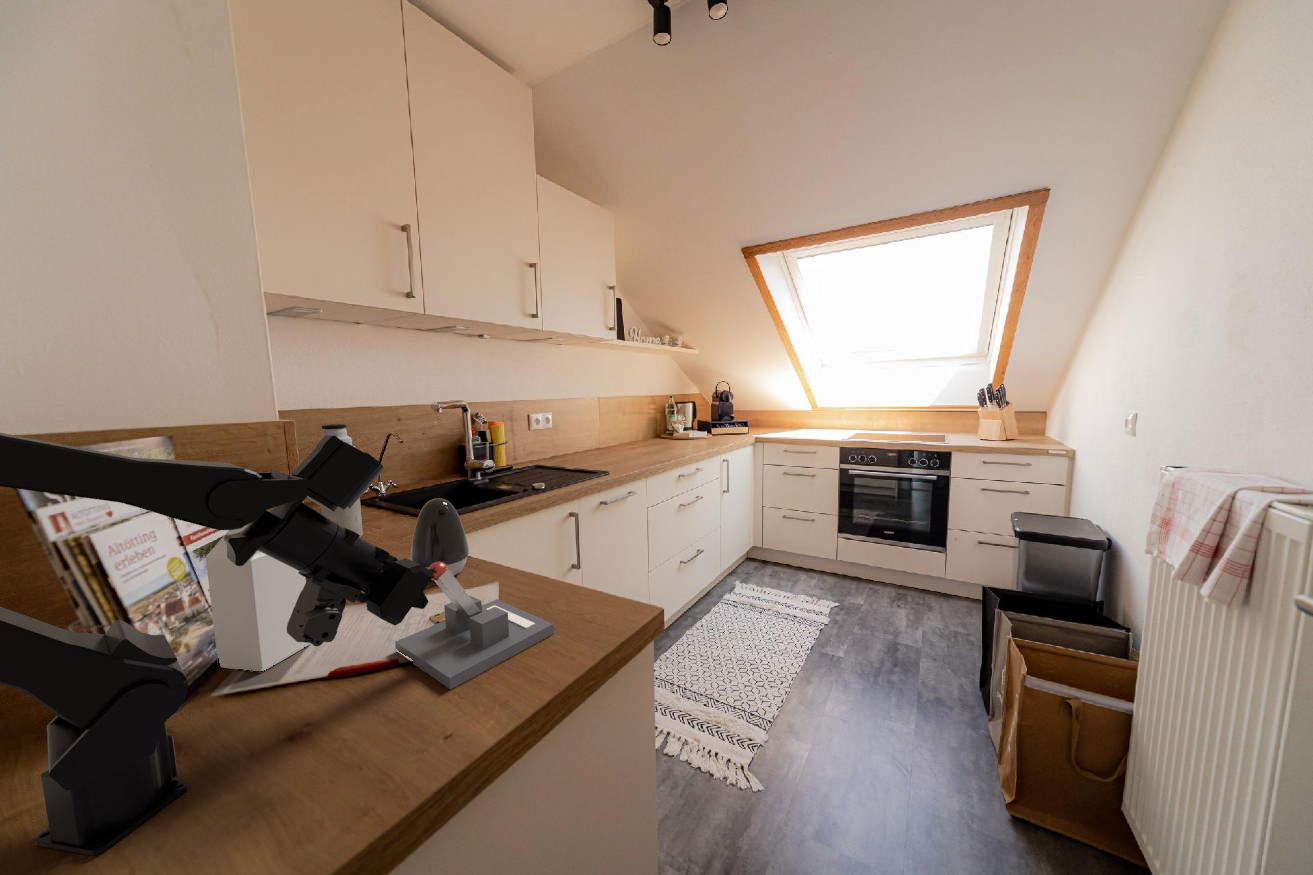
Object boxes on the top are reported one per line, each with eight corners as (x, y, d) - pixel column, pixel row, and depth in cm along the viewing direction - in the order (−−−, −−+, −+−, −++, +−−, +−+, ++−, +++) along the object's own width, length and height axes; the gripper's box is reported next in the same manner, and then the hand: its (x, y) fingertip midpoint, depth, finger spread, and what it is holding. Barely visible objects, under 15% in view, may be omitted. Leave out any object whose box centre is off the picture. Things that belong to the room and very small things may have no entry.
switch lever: (475, 628, 65) (430, 574, 60) (464, 623, 67) (419, 569, 62) (488, 614, 67) (446, 560, 61) (476, 609, 69) (434, 555, 63)
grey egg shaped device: (421, 591, 85) (415, 508, 83) (406, 574, 93) (400, 498, 91) (478, 575, 92) (473, 498, 90) (459, 561, 99) (455, 490, 98)
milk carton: (262, 673, 61) (246, 529, 59) (217, 668, 62) (201, 526, 60) (312, 644, 67) (300, 514, 65) (271, 639, 69) (258, 512, 67)
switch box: (450, 689, 57) (447, 650, 56) (395, 651, 65) (393, 617, 65) (553, 633, 69) (552, 600, 69) (497, 607, 78) (495, 578, 77)
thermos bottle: (353, 530, 122) (344, 422, 119) (369, 535, 118) (360, 423, 115) (318, 539, 116) (307, 425, 113) (333, 544, 111) (323, 426, 109)
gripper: (230, 593, 53) (349, 643, 63) (285, 646, 41) (419, 697, 51) (307, 508, 58) (406, 567, 68) (374, 535, 47) (480, 601, 57)
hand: (424, 604), depth 61 cm, fingers closed
